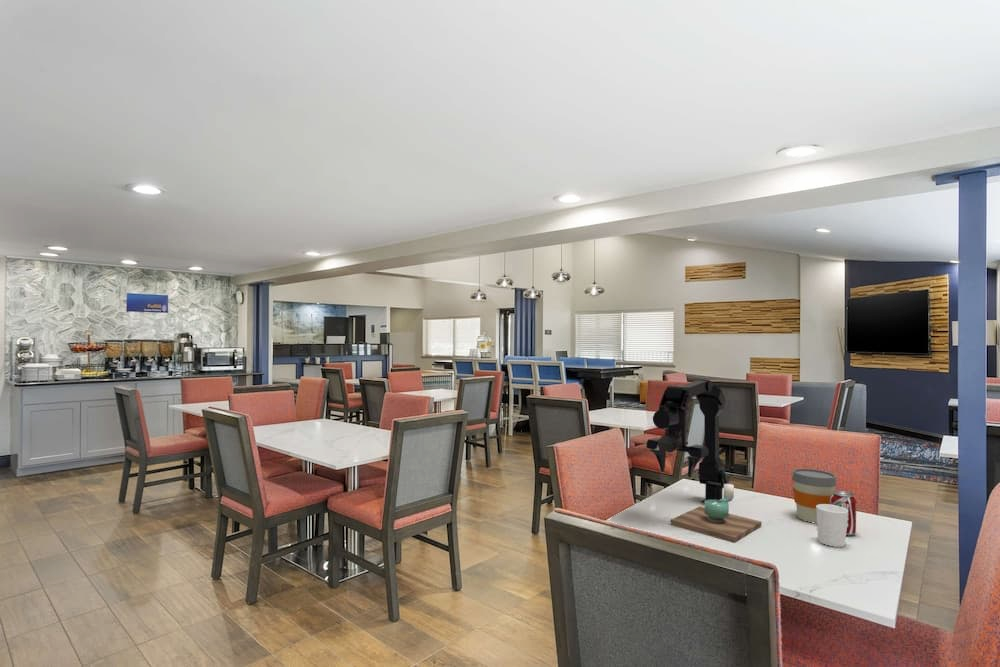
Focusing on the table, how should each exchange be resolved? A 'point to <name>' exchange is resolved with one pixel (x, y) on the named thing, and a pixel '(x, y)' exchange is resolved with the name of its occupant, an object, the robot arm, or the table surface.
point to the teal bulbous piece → (720, 503)
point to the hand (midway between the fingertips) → (675, 474)
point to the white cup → (831, 524)
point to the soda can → (848, 503)
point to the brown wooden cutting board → (717, 524)
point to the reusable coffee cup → (812, 491)
